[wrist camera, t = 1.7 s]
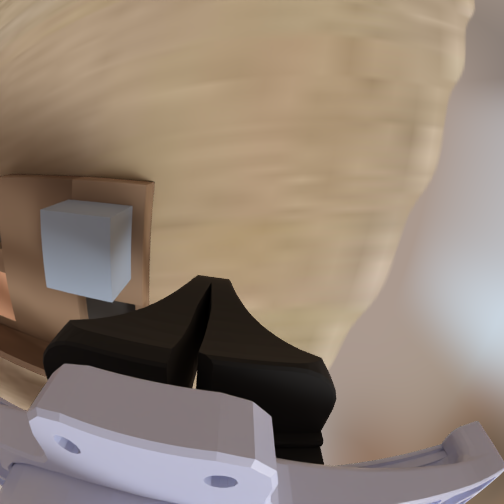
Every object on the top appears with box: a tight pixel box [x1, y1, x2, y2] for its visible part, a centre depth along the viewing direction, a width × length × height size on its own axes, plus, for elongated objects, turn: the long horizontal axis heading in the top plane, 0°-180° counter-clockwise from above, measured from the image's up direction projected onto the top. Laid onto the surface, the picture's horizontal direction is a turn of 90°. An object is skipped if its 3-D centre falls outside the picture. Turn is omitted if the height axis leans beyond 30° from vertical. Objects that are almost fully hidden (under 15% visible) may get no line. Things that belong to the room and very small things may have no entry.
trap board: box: [0, 174, 154, 377], centre depth 15 cm, size 14×21×4 cm, turn 81°
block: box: [40, 200, 133, 302], centre depth 14 cm, size 4×4×3 cm
